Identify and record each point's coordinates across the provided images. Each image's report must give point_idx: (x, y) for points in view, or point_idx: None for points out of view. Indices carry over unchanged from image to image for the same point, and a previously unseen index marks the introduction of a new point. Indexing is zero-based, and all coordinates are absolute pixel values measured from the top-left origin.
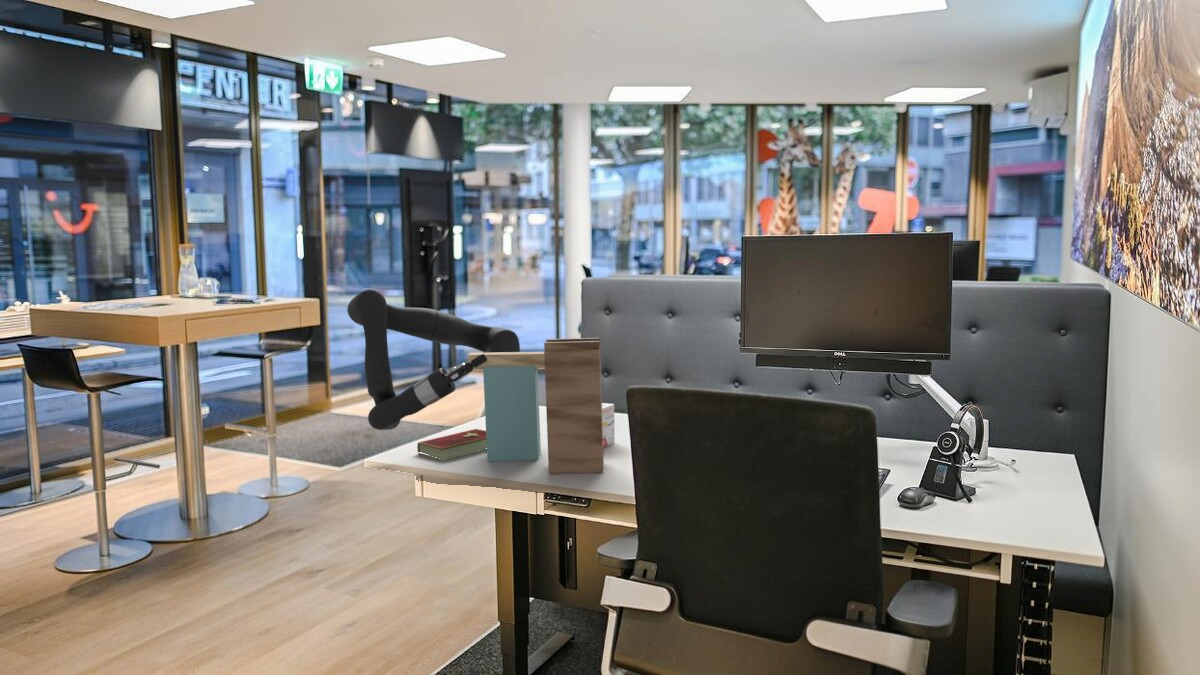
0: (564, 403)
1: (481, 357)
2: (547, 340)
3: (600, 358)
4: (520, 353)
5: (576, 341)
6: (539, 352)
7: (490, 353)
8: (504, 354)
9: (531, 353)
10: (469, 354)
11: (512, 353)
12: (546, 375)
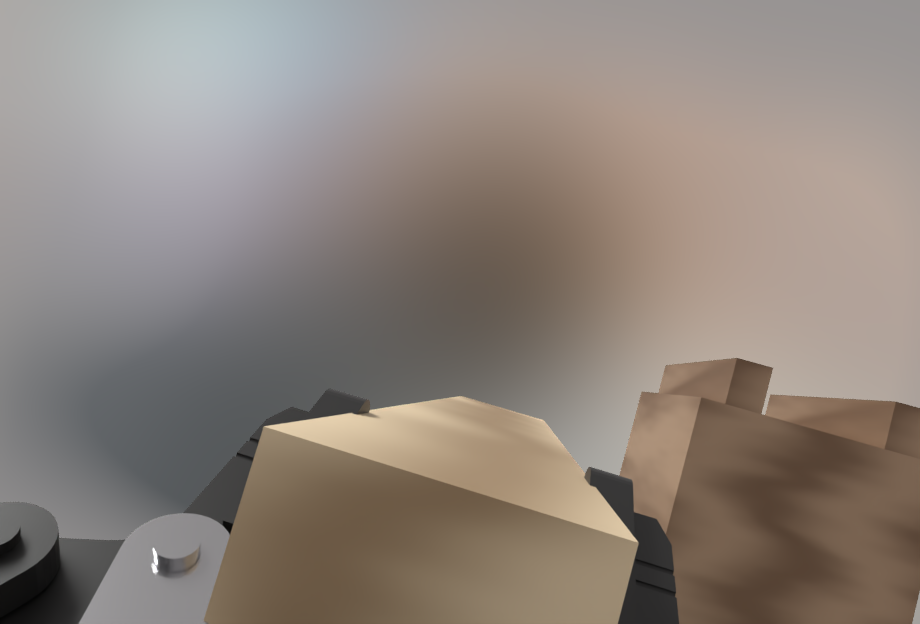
0: None
1: (658, 542)
2: (769, 372)
3: (627, 449)
4: (514, 424)
5: (812, 397)
6: (482, 407)
7: (465, 434)
8: (564, 449)
9: (527, 423)
10: (536, 504)
11: (505, 426)
12: (907, 615)
